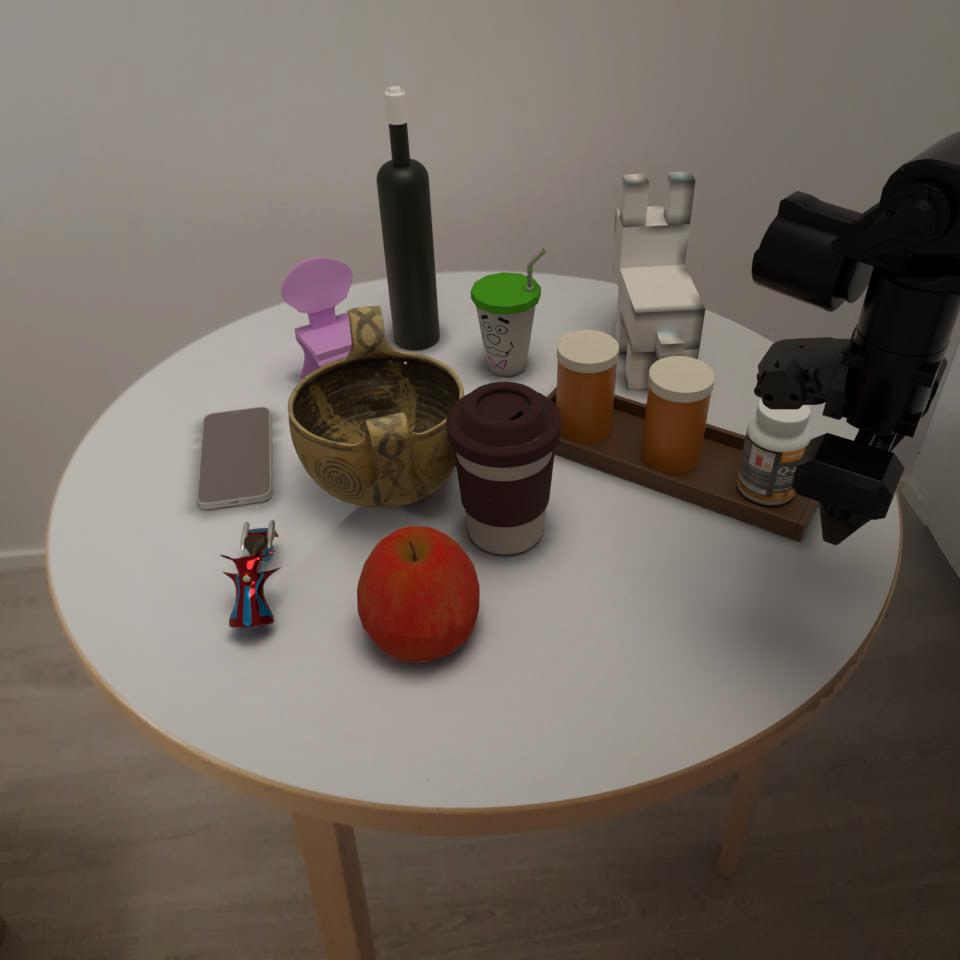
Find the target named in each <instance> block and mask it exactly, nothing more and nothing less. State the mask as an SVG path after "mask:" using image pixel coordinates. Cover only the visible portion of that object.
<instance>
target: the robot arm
mask: <svg viewBox="0 0 960 960" xmlns="http://www.w3.org/2000/svg"><path fill="white" fill-rule="evenodd" d="M750 271H751V278H752V281H753V283H754V284H755V285H756V286H759V287H762V288H764V289H766V290H769V291H771V292H775V293H778V294H780V295H783V296H786V297H788V298H791V299H793V300H796V301H799V302H802V303H804V304H807V305H809V306H812V307H815V308H818V309H821V310H823V311H825V312H829V313H832V312H834V311H836V310H838V309H839V308H840V307H841V306H842V305H843V304H844V303H845V302H846V303H848V304H854V303H855V302H857V301H858V300H859V299H860V298H861V297H862V295H863V294H864V293H865V291H866V293H865V296H864V299H863V303H862V307H861V310H860V314H859V317H858V320H857V323H856V324H855V327H854V328H853V330H852V334H851V336H850V338H836V337H833V336H832V337H831V336H822V337H821V336H820V337H805V338H804V337H800V338H786V339H780V340H778V341H775V342H773V343H772V344H771V346H770V347H769V348H768V349H767V351H766V352H765V353H764V355H763V357H762V358H761V360H759V361H760V362H758V365H757V370H758V371H757V374H756V385H755V386H754V388H753V394H754V395H755V396H756V397H757V398H760V399H761V398H762V403H763V405H764V406H766V407H767V408H769V409H772V410H797V409H800V408H801V407H802V406H803V405H809V406H819V405H822V404H824V407H823V411H822V414H821V415H822V416H823V417H827V418H830V419H834V420H836V421H841V420H842V418H844V419H845V422H846V423H847V424H849V425H850V426H852V427H853V428H856V429H857V430H858V431H857V432H856V435H855V437H854V439H850V438H846V437H843V436H840V435H837V434H833V433H830V432H825V433H823V434H820V435H818V436H815V437H813V438H810V442H809V444H808V446H807V448H806V450H805V451H804V453H803V455H802V457H801V459H800V461H799V462H798V464H797V466H796V470H795V474H794V478H793V481H792V485H791V487H792V489H793V490H794V491H795V493H796V494H797V495H800V496H803V497H806V498H809V499H812V500H815V501H818V502H819V505H818V508H819V515H820V526H821V527H820V528H821V537H822V541H823V542H825V543H828V544H829V545H832V546H839V545H840V544H841V543H842V542H844V541H845V540H847V539H848V538H849V537H850V536H852V535H853V534H854V533H856V532H857V531H858V530H859V529H860V528H862V527H864V526H865V525H866V524H867V523H869V522H870V521H872V520H873V521H877V520H883V519H886V518H887V514H888V512H889V510H890V508H891V505H892V502H893V500H894V498H895V495H896V492H897V490H898V487H899V485H900V482H901V479H902V477H903V474H904V472H905V469H906V468H905V466H904V464H903V463H902V462H901V460H900V459H899V458H898V456H897V455H896V453H895V452H893V450H894V449H895V448H896V447H897V446H898V445H899V443H901V441H902V440H904V439H905V437H909V438H912V439H913V438H914V437H915V435H916V432H917V429H918V427H919V425H920V423H921V420H922V419H923V418H924V417H925V416H926V415H927V413H928V412H929V410H930V408H931V405H932V403H933V400H935V398H936V395H937V392H938V390H939V388H940V385H941V383H942V380H943V378H944V375H945V372H946V370H947V367H948V364H949V362H948V360H947V358H946V357H945V356H946V353H947V350H948V348H949V346H950V343H951V336H952V335H953V334H952V333H953V331H954V328H955V325H956V323H957V320H958V317H959V315H960V131H956V132H953V133H951V134H949V135H946V136H945V137H943V138H941V139H940V140H938V141H937V142H935V143H934V144H932V145H931V146H929V147H928V148H926V149H925V150H923V151H922V152H919V153H918V154H917V155H916V156H914V157H913V158H911V159H909V160H908V161H906V162H904V163H903V164H901V166H899V167H898V168H897V169H896V170H895V171H893V173H891V174H890V176H889V177H888V179H887V181H886V182H885V184H884V186H883V187H882V190H881V194H880V198H879V201H878V202H877V203H875V204H874V205H872V206H871V207H870V208H868V209H866V210H865V211H863V212H859V211H856V210H853V209H849V208H846V207H843V206H840V205H836V204H833V203H829V202H826V201H823V200H821V199H819V198H818V197H816V196H815V195H813V194H810V193H806V192H804V191H800V190H796V191H794V192H793V193H791V194H789V195H787V196H786V197H784V198H783V199H781V200H780V201H779V204H778V209H777V214H776V216H775V217H774V218H773V220H772V221H771V223H770V224H769V225H768V227H767V229H766V231H765V232H764V234H763V237H762V238H761V241H760V243H759V246H758V248H756V250H755V251H754V254H753V257H752V262H751V270H750Z"/></svg>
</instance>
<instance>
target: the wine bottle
mask: <svg viewBox="0 0 960 960" xmlns="http://www.w3.org/2000/svg"><path fill="white" fill-rule="evenodd" d="M384 90H385V92H384V101H385V111H386V122H387V124H388V132H389V133H388V134H389V142H390V143H389V144H390V154H391V159H390V160H388V161H386V162H385V163H383V164H382V165H381V166H380V167H379V168H378V171H377V173H376V177H375V179H376V180H375V181H376V190H377V199H378V200H377V201H378V208H379V217H380V226H381V227H380V228H381V236H382V243H383V244H382V245H383V253H384V255H383V256H384V263H385V271H386V273H385V274H386V282H387V290H388V291H387V292H388V301H389V308H390V318H391V328H392V335H393V336H392V337H393V341H394V343H395V345H396V346H398V347H399V348H401V349H404V350H407V351H408V350H409V351H421V350H422V351H423V350H426V349H429V348H432V347H433V346H435V345H436V344H437V343H438V342H439V340H440V338H441V331H440V318H439V317H440V316H439V303H438V302H439V301H438V288H437V274H436V260H435V245H434V231H433V230H434V229H433V217H432V215H433V214H432V202H431V188H430V175H429V172H428V169H427V168H426V167H425V165H424V164H423V163H422V162H420V161H419V160H416V159H415V158H411V153H410V140H409V130H408V129H409V128H408V121H409V119H408V108H407V107H408V106H407V105H408V104H407V95H406V94H407V93H406V90H405V88H402V87H401V86H400V84H398V85H392V86H389V87H388V86H385V89H384Z"/></svg>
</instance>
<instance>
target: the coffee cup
mask: <svg viewBox="0 0 960 960" xmlns="http://www.w3.org/2000/svg"><path fill="white" fill-rule="evenodd" d="M446 428H447V437H448V441H449V443H450V445H451V447H452V448H453V449H454V458H455V464H456V467H455V471H456V476H457V484H458V490H459V497H460V503H461V505H462V508H463V509H464V514H465V521H466V528H467V533H468V535H469V537H470V539H471V541H472V542H473V543H474V544H475V545H476V546H477V547H478V548H480V549H481V550H483V551H486V552H487V553H490V554H494V555H502V556H503V555H504V556H510V555H516V554H520V553H523V552H525V551H527V550H529V549H531V548H532V547H534V546H535V545H536V544H537V543H538V542H539V541H540V539H541V538H542V536H543V533H544V529H545V521H546V510H547V507H548V505H549V502H550V497H551V488H552V480H553V479H552V478H553V470H554V464H555V455H556V454H555V451H554V448H555V447H556V445H557V444H558V442H559V439H560V436H561V415H560V412H559V410H558V408H557V406H556V405H555V404H554V403H553V402H552V401H551V400H550V399H549V398H547V396H546V395H544V394H543V393H541V392H538V391H536V390H535V389H534V388H533V387H530V386H528V385H526V384H523V383H520V382H515V381H493V382H489V383H485V384H482V385H480V386H478V387H476V388H475V389H473V390H471V391H470V392H469V393H467V394H464V396H463V397H462V398H460V399H459V400H458V401H457V402H456V403H455V404H454V405H453V406H452V407H451V409H450V410H449V412H448V414H447V419H446Z"/></svg>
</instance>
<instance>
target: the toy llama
mask: <svg viewBox="0 0 960 960" xmlns="http://www.w3.org/2000/svg"><path fill="white" fill-rule="evenodd" d="M696 181H697V180H696V179H695V176H694V175H693V174H692V171H690V170H688V171H687V170H686V171H670V172H667V176H666V185H665V194H664V204H663V205H651V206H648V205H649V203H648V202H649V192H650V181H649V179H648V176H647V174H646V173H632V174H631V173H630V174H622V177H621V192H620V193H621V194H620V203H619V207H616V208H615V213H614V228H613V242H612V257H611V270H612V272H613V275H614V279H615V281H616V284H617V287H618V289H617V301H616V302H617V303H616V316H615V328H614V339H615V340H616V341H617V342H618V344H619V355H620V354H626V359H625V371H624V380H625V383H626V387H627V389H628V390H629V391H630V390H633V391H634V390H648V387H649V385H648V377H649V370H650V367H651V366H652V365H653V363H654V360H655V357H656V359H657V360H656V361H658V360H660V359H662V358H666V357H671V356H686V357H691V358H695V359H698V360H699V355H700V347H701V341H702V336H703V335H702V334H703V328H704V322H705V315H706V307H705V305H704V303H703V300H702V299H701V296H700V294H699V292H698V290H697V288H696V286H695V283H694V281H693V279H692V277H691V275H690V273H689V271H688V269H687V266H686V259H687V251H688V242H689V234H690V228H691V220H692V211H693V204H694V196H695V188H696Z"/></svg>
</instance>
